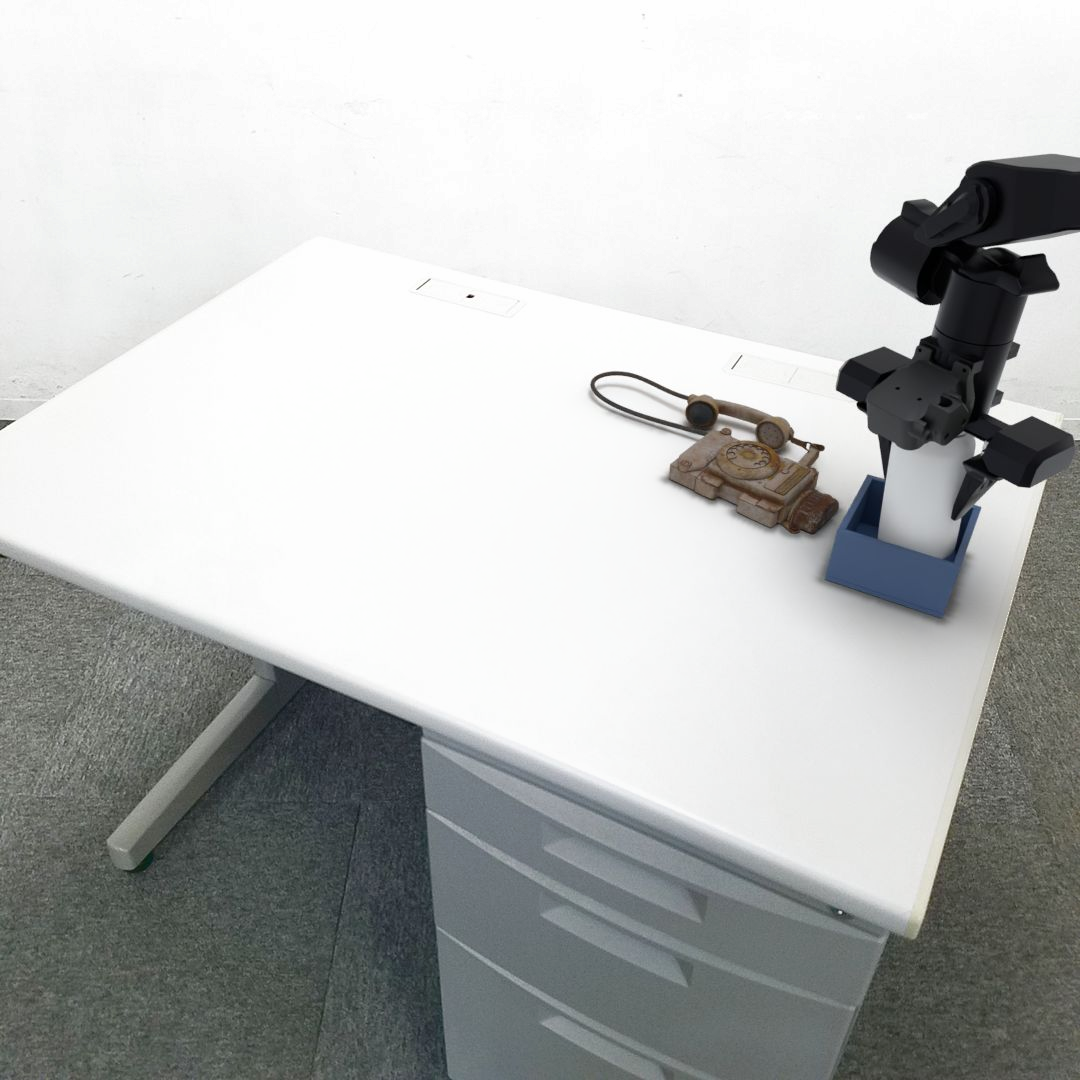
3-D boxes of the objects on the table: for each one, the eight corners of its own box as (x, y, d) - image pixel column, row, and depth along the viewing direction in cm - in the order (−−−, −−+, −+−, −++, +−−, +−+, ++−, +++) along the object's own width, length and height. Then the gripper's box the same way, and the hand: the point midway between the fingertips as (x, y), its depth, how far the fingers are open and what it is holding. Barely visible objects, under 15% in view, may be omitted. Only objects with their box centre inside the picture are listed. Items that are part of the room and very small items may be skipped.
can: (869, 556, 84) (887, 432, 77) (884, 520, 89) (903, 400, 82) (948, 572, 81) (974, 445, 75) (959, 535, 86) (984, 412, 79)
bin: (941, 618, 82) (959, 568, 79) (824, 579, 86) (837, 530, 83) (964, 554, 89) (981, 506, 86) (854, 521, 93) (867, 473, 90)
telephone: (619, 371, 116) (621, 339, 113) (875, 475, 99) (884, 441, 96) (537, 424, 107) (537, 391, 105) (802, 548, 90) (810, 512, 88)
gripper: (808, 310, 75) (775, 476, 85) (1020, 409, 63) (954, 591, 73) (901, 280, 80) (860, 440, 90) (1114, 367, 68) (1041, 542, 78)
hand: (921, 498), depth 82 cm, fingers closed on can, 6 cm apart
